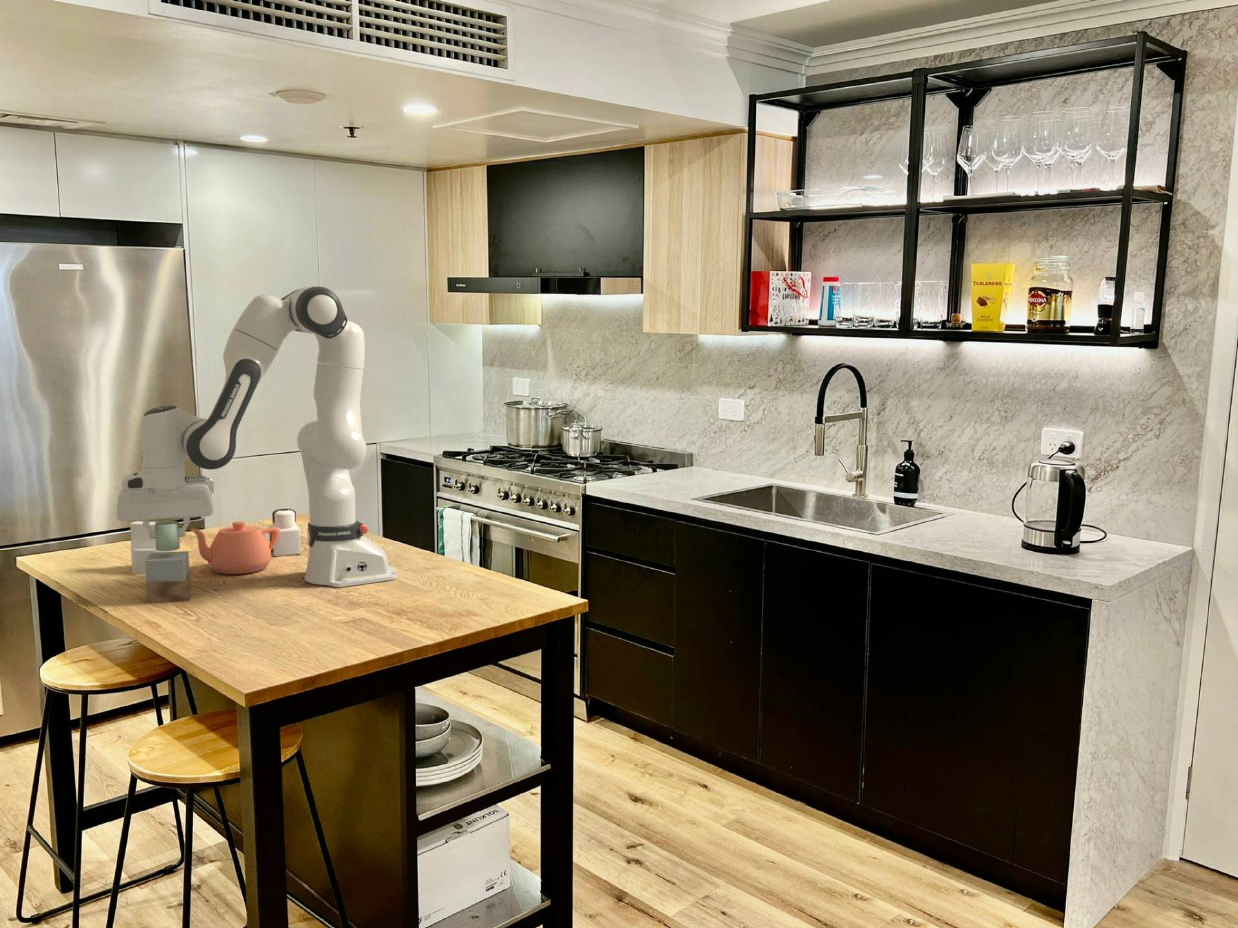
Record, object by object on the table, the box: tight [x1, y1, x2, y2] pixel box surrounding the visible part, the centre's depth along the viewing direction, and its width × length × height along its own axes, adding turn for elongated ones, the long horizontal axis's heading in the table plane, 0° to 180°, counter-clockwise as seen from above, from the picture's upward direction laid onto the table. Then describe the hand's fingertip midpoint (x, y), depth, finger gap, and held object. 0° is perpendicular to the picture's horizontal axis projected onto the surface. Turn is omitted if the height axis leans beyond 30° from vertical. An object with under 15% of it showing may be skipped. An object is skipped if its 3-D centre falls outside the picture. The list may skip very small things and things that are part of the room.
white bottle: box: [268, 508, 302, 557], centre depth 279 cm, size 7×7×12 cm
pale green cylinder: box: [155, 520, 181, 552], centre depth 235 cm, size 5×5×6 cm
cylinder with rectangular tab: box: [129, 520, 171, 575], centre depth 260 cm, size 9×9×12 cm
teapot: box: [189, 521, 280, 575], centre depth 261 cm, size 22×15×12 cm
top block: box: [145, 550, 190, 584], centre depth 236 cm, size 8×8×5 cm
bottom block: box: [145, 570, 192, 605], centre depth 237 cm, size 9×9×5 cm
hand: (167, 537), depth 235 cm, fingers closed on pale green cylinder, 5 cm apart
